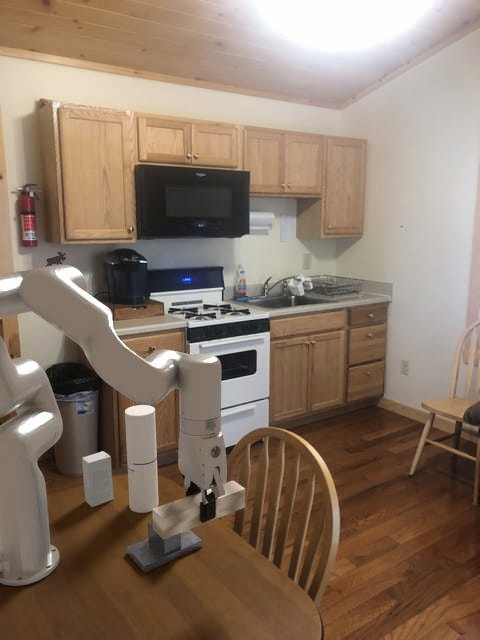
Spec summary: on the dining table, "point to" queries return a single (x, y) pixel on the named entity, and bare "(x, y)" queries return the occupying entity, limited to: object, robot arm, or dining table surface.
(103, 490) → the skincare box
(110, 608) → the dining table surface
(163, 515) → the ash bar
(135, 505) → the cylindrical container
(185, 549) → the fulcrum stand
